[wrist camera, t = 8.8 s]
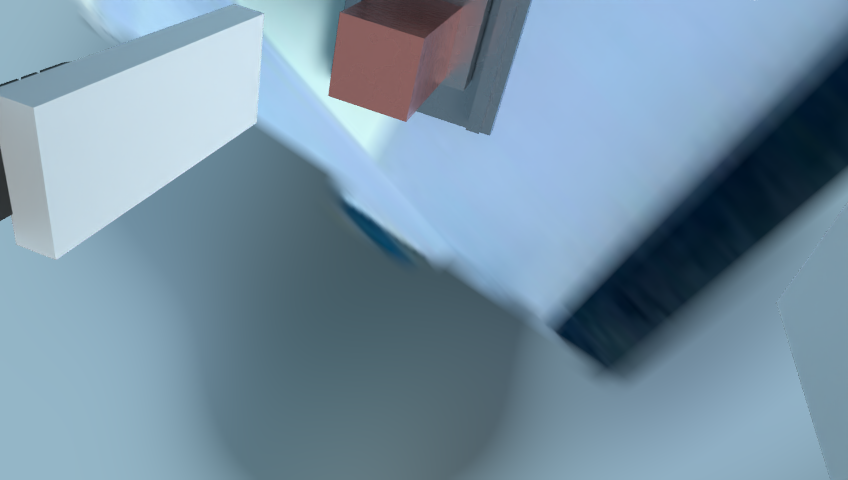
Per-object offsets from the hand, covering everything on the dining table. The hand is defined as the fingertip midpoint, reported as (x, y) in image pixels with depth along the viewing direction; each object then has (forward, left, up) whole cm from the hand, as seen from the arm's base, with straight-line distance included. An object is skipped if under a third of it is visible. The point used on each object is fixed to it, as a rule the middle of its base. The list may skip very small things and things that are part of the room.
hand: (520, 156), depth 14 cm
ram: (+6, -10, -31) cm, 33 cm away
